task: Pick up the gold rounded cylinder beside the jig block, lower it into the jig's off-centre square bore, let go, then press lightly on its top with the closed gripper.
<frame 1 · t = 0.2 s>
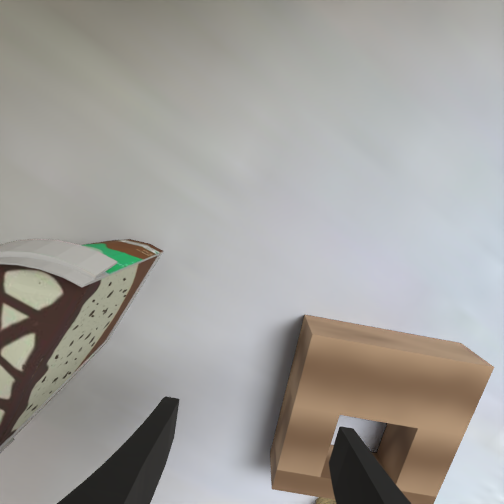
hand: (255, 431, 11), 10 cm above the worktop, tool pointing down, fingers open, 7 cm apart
jig: (359, 401, 22), on the worktop
food container: (102, 276, 21), on the worktop
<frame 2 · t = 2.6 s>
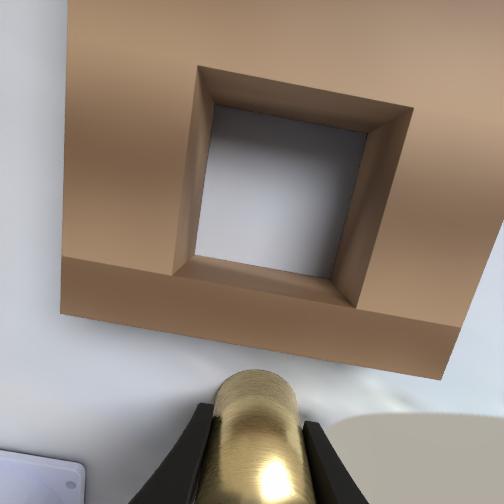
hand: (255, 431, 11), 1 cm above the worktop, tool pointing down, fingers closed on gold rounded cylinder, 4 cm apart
jig: (286, 146, 10), on the worktop
gold rounded cylinder: (255, 405, 13), on the worktop, touching gripper
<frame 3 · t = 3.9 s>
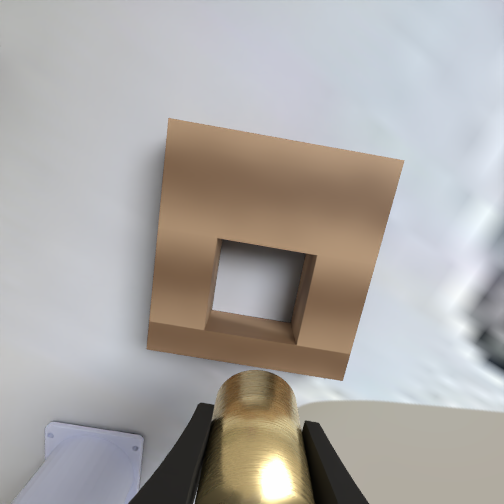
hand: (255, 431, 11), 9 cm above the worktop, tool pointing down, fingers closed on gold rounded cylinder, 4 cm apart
jig: (263, 252, 18), on the worktop
gold rounded cylinder: (255, 405, 13), point 7 cm above the worktop, touching gripper
when the fingers open (4 cm above the worktop, at t = 5.5 s): gold rounded cylinder drops 2 cm, resting in jig.
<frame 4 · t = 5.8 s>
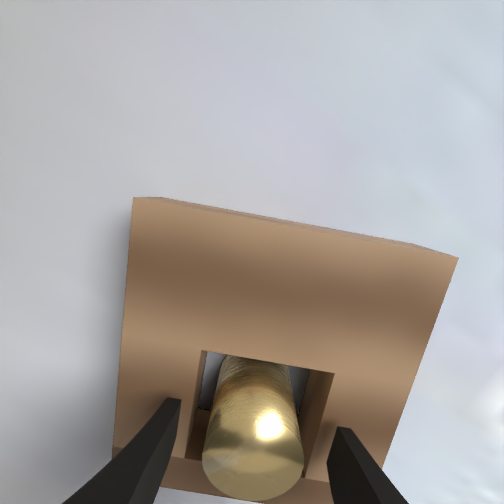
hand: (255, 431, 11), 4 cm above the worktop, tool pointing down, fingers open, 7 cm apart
jig: (262, 343, 14), on the worktop
gold rounded cylinder: (254, 374, 15), resting in jig
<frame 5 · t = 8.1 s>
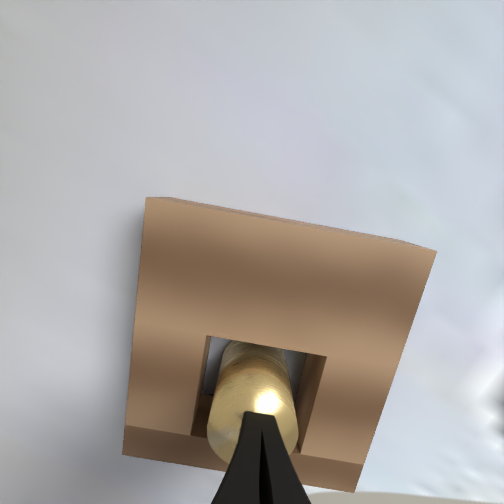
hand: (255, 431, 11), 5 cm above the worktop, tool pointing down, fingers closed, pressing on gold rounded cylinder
jig: (261, 332, 16), on the worktop
gold rounded cylinder: (254, 361, 16), resting in jig, touching gripper
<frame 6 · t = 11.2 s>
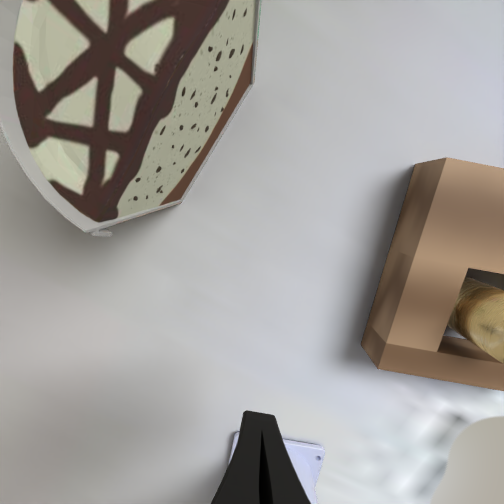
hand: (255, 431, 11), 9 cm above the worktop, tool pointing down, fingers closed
jig: (470, 276, 19), on the worktop
food container: (178, 119, 18), on the worktop
gold rounded cylinder: (458, 301, 20), resting in jig
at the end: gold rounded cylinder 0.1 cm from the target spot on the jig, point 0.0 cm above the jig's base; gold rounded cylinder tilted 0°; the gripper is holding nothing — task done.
